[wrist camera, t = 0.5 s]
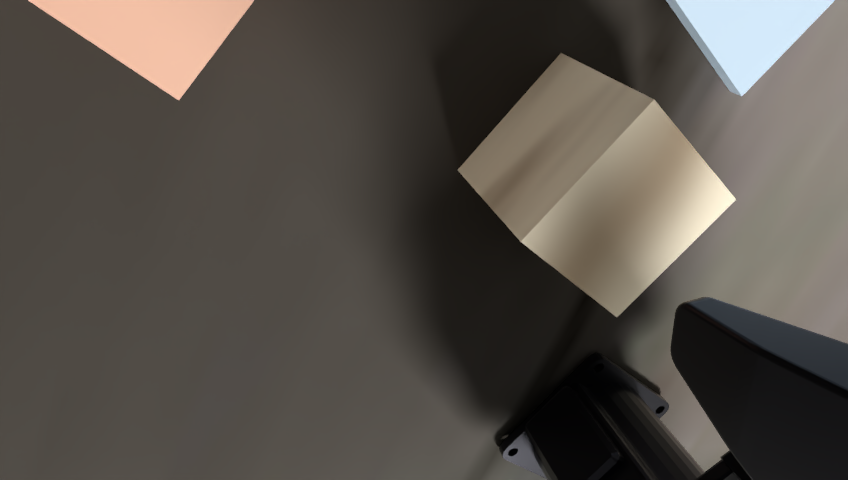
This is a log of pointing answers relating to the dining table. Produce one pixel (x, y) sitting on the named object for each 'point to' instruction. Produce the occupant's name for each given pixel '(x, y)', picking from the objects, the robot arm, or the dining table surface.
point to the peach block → (153, 33)
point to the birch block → (596, 182)
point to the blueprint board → (746, 33)
